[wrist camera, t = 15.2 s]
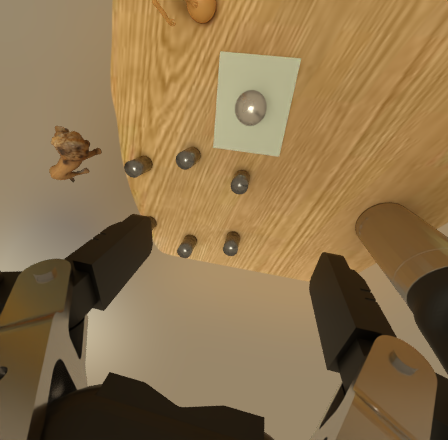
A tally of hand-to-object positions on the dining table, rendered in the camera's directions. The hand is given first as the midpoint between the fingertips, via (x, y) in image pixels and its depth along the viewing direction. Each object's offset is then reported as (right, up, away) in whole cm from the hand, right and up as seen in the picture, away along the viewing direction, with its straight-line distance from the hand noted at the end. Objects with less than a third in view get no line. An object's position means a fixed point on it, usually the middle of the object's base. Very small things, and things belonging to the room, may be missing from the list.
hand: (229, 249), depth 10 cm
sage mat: (+4, +20, +25) cm, 32 cm away
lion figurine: (-30, +15, +34) cm, 48 cm away
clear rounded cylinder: (+4, +20, +24) cm, 32 cm away
